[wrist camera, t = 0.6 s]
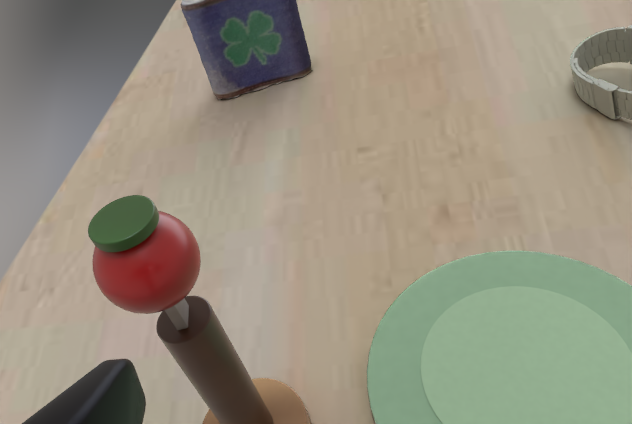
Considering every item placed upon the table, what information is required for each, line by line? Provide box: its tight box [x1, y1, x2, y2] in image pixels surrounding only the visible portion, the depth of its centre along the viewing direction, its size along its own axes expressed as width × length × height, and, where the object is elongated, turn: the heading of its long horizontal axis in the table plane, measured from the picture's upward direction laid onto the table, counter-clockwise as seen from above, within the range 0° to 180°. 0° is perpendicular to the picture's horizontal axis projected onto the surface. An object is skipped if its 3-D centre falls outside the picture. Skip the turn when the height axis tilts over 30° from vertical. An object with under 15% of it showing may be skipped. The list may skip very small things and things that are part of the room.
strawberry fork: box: [88, 195, 311, 424], centre depth 21 cm, size 5×5×14 cm
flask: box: [181, 0, 312, 100], centre depth 47 cm, size 9×3×11 cm, turn 102°
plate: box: [367, 251, 632, 424], centre depth 25 cm, size 14×14×1 cm
